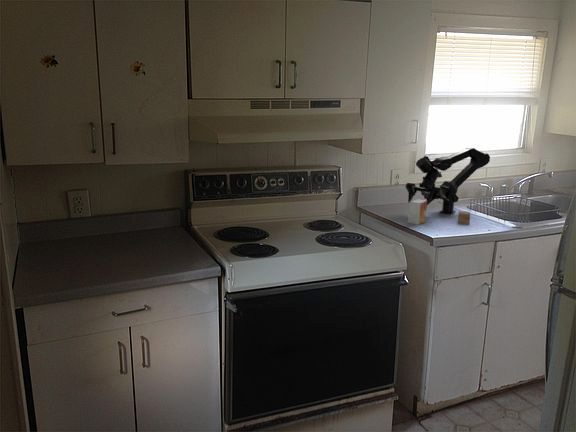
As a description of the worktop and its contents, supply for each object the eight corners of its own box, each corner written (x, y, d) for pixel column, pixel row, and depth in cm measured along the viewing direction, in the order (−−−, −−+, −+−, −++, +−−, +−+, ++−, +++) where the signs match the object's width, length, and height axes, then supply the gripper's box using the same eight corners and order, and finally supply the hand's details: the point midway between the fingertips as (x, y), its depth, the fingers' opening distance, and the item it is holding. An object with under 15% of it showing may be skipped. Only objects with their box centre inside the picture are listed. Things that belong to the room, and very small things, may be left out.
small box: (418, 225, 253) (420, 203, 250) (407, 223, 256) (409, 201, 253) (425, 221, 259) (427, 200, 256) (414, 219, 262) (416, 198, 259)
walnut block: (457, 220, 262) (458, 210, 261) (468, 221, 261) (469, 211, 259) (458, 223, 257) (459, 213, 256) (469, 224, 256) (470, 214, 255)
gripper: (451, 191, 268) (439, 216, 263) (418, 186, 280) (405, 210, 275) (445, 177, 261) (432, 203, 255) (411, 172, 273) (398, 197, 268)
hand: (417, 204), depth 264 cm, fingers open, 9 cm apart
